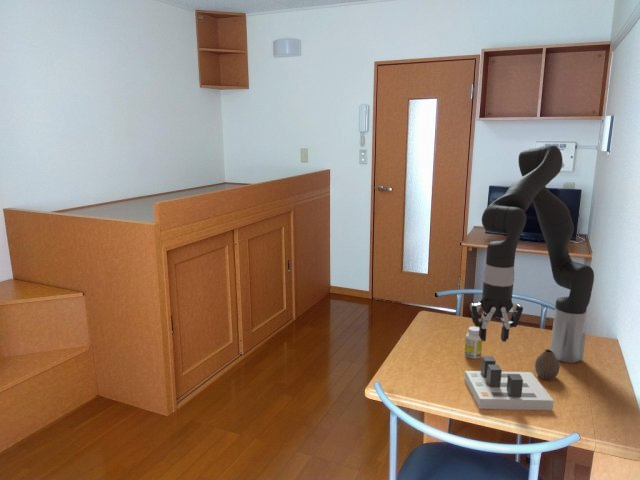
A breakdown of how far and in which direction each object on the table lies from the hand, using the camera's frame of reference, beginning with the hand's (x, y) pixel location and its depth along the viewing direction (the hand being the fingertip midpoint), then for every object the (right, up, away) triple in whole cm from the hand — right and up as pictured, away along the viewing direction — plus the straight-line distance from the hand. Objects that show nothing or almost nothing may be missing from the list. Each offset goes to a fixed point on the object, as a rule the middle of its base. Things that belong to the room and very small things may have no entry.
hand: (493, 340), depth 133 cm
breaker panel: (+7, -18, +9) cm, 21 cm away
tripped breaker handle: (+7, -16, +3) cm, 17 cm away
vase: (+24, -16, +20) cm, 34 cm away
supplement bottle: (+5, -12, +34) cm, 36 cm away
